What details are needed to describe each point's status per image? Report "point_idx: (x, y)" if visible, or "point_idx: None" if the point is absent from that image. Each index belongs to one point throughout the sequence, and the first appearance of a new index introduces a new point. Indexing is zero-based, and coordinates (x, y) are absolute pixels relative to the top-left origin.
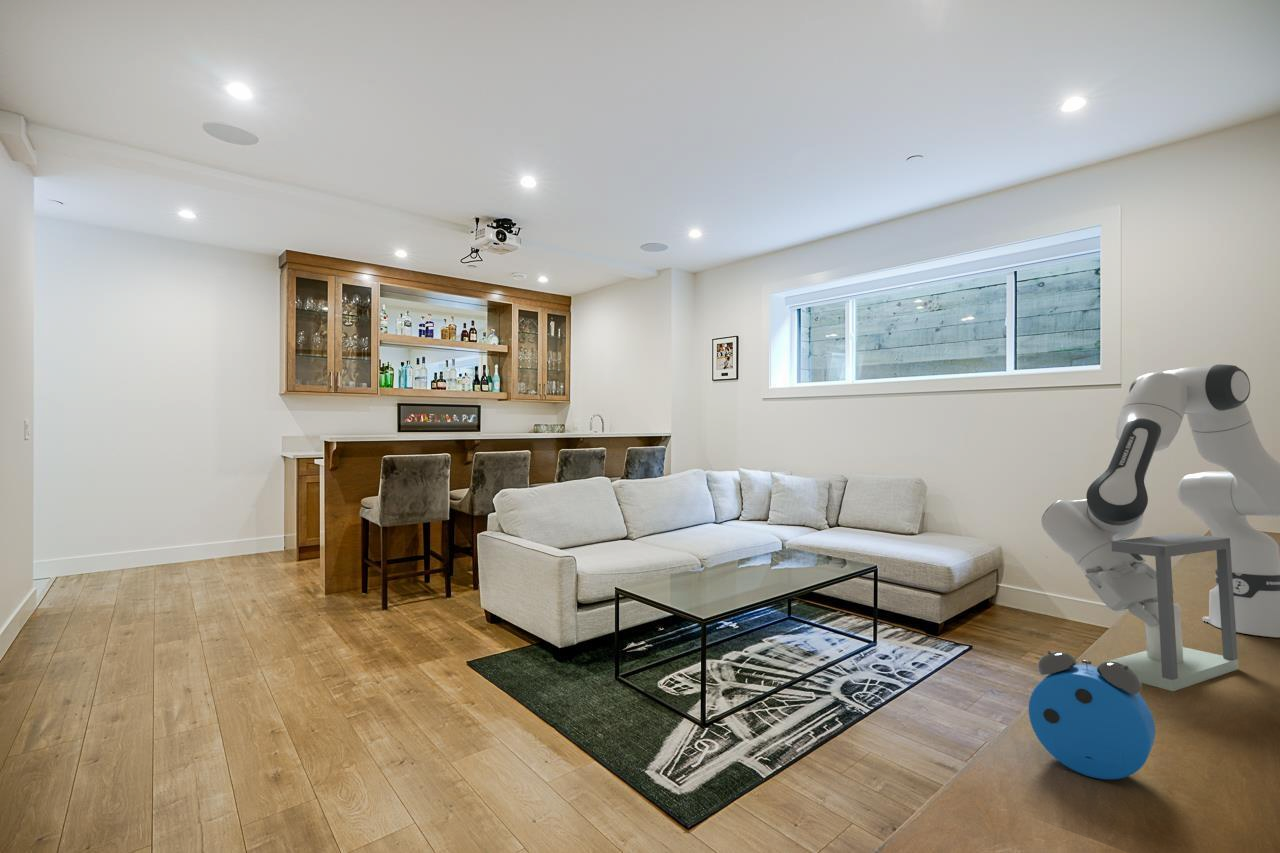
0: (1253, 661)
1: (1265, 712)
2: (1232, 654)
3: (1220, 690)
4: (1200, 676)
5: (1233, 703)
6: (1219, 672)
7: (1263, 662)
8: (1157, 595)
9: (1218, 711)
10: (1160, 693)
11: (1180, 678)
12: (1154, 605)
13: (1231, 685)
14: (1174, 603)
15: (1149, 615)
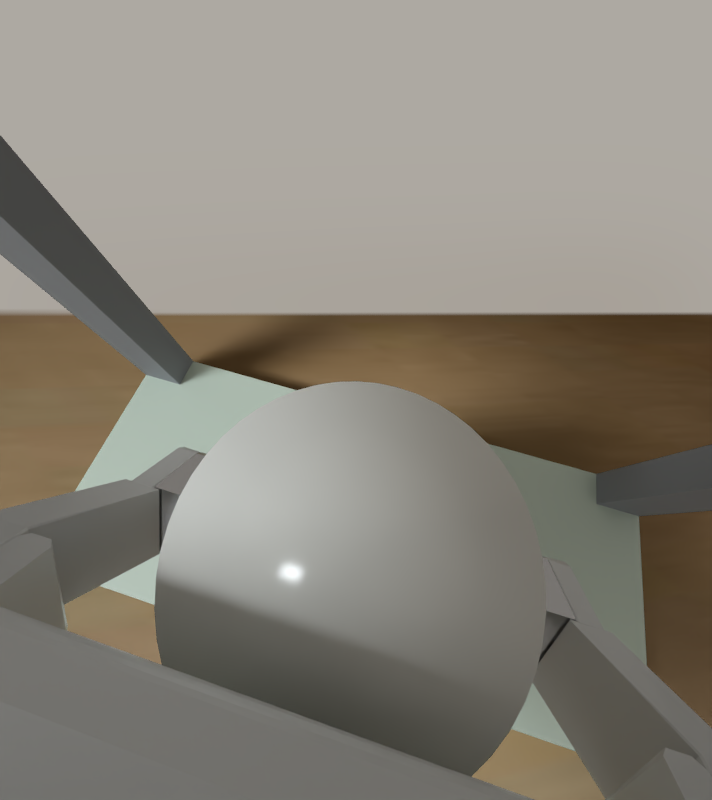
0: (40, 342)
1: (567, 319)
2: (183, 351)
3: (467, 395)
4: None
5: (562, 368)
6: None
7: (38, 323)
8: (102, 656)
9: (667, 389)
10: (663, 518)
11: (576, 469)
12: (543, 614)
13: (388, 377)
14: (255, 434)
15: (603, 631)
